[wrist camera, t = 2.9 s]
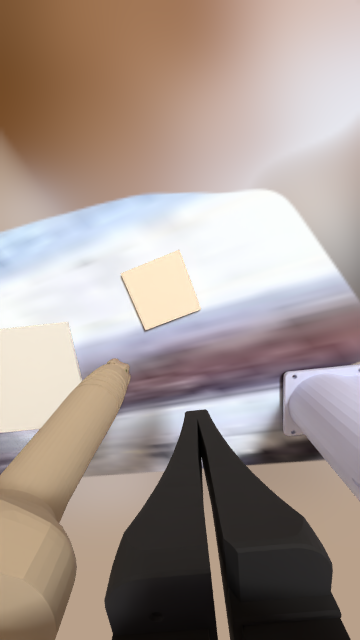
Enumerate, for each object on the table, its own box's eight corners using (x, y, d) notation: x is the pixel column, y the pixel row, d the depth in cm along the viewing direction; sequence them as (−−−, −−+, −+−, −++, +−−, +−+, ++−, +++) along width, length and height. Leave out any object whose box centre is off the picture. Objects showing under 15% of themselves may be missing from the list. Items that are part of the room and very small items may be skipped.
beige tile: (179, 251, 18) (179, 249, 17) (199, 307, 19) (201, 309, 18) (123, 274, 18) (120, 273, 17) (147, 327, 20) (145, 330, 19)
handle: (148, 389, 20) (69, 666, 6) (91, 392, 20) (-134, 674, 6) (144, 348, 19) (36, 557, 5) (84, 351, 19) (-208, 568, 5)
